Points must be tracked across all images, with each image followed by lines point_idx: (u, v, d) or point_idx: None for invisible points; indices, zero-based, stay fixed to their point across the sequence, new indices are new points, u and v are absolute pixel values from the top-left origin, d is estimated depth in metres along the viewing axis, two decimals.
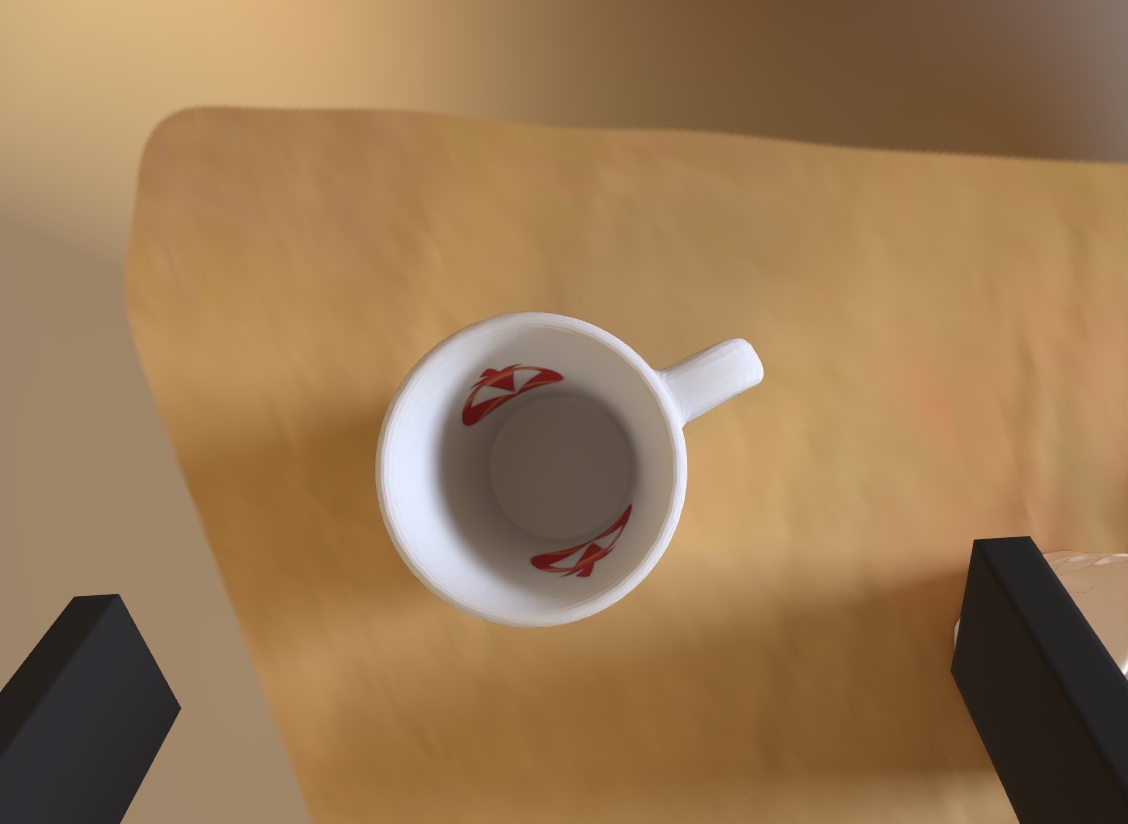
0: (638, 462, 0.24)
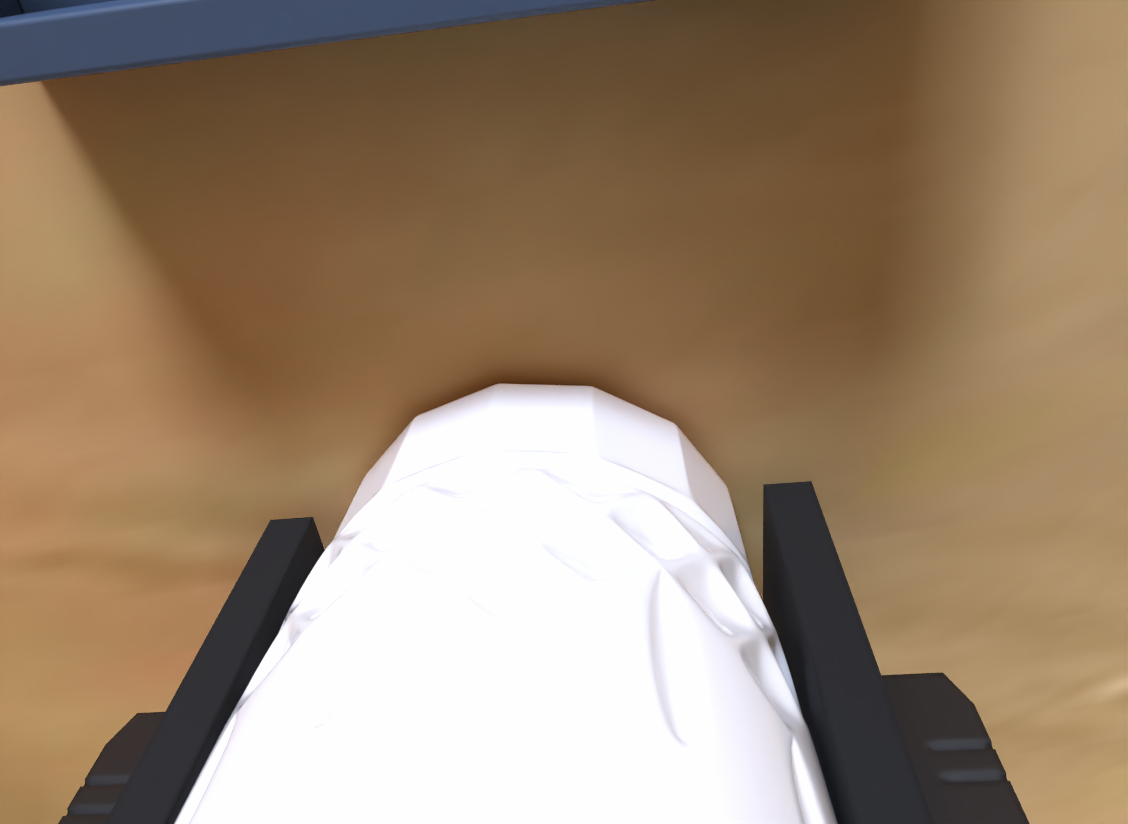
0: None
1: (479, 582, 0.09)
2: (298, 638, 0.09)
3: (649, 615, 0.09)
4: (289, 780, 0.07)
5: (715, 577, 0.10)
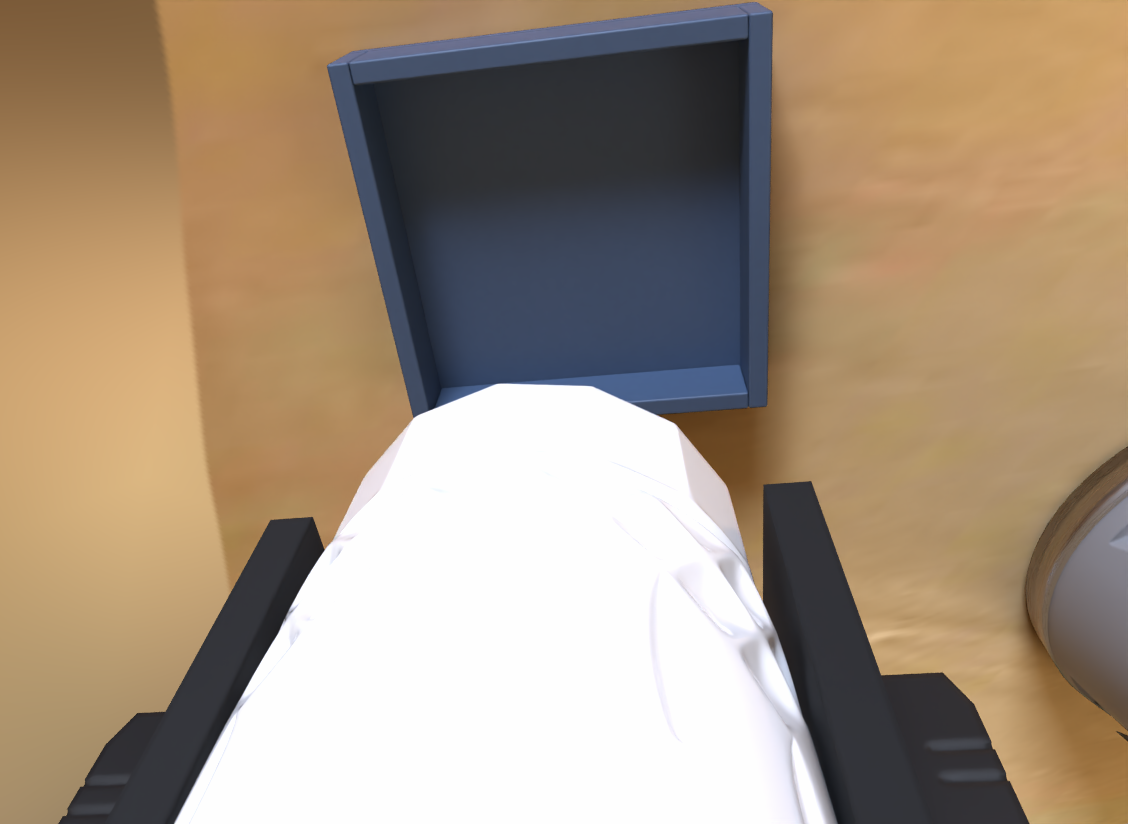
0: None
1: (479, 582, 0.09)
2: (298, 638, 0.09)
3: (648, 615, 0.09)
4: (289, 780, 0.07)
5: (715, 577, 0.10)
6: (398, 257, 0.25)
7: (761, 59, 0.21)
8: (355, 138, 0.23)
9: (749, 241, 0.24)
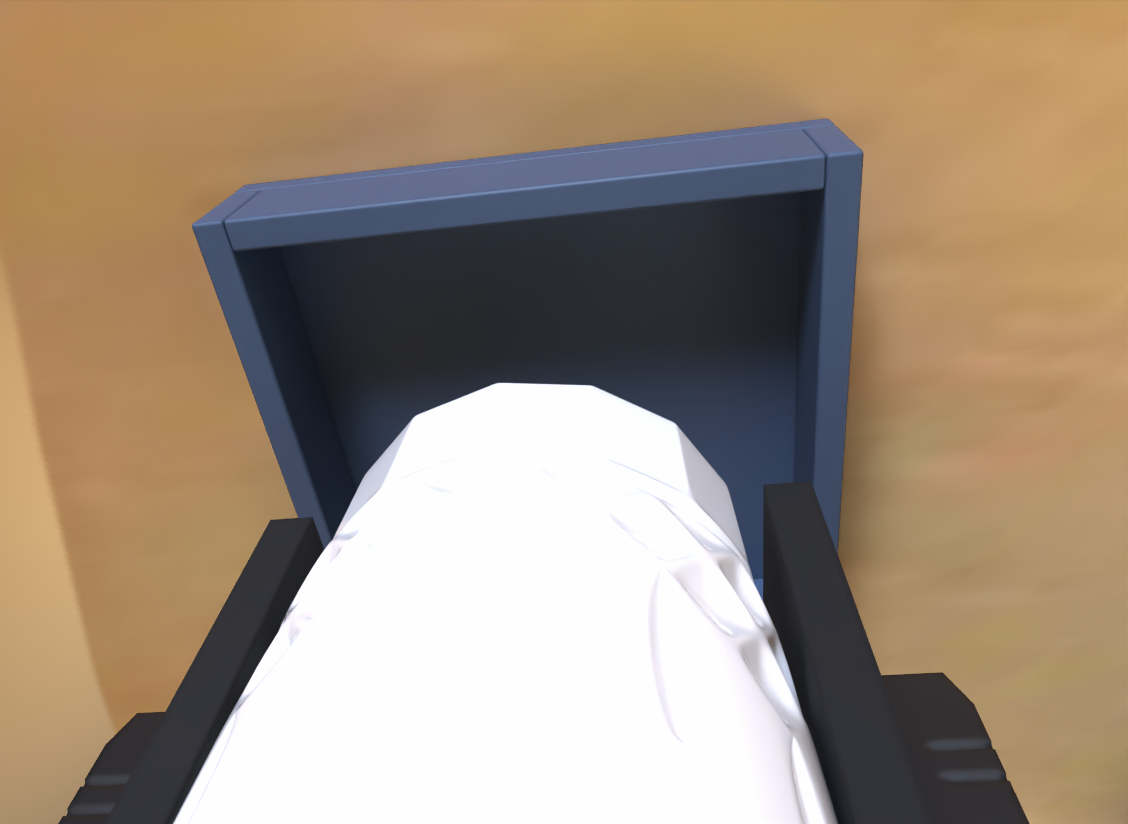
0: None
1: (478, 582, 0.09)
2: (298, 638, 0.09)
3: (648, 615, 0.09)
4: (287, 780, 0.07)
5: (715, 576, 0.10)
6: (317, 464, 0.18)
7: (843, 218, 0.14)
8: (241, 322, 0.15)
9: (815, 455, 0.16)
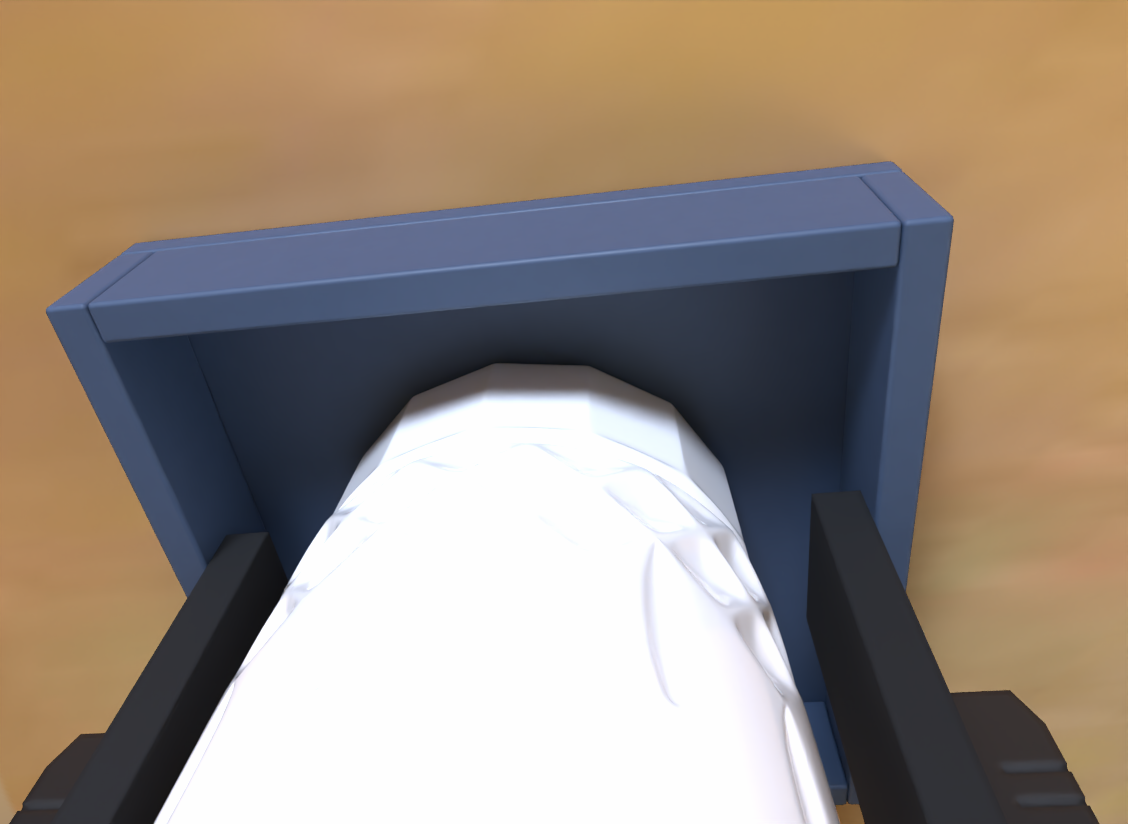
0: None
1: (475, 552, 0.09)
2: (296, 608, 0.09)
3: (642, 583, 0.09)
4: (285, 740, 0.07)
5: (710, 550, 0.10)
6: None
7: (922, 304, 0.10)
8: (123, 429, 0.12)
9: None
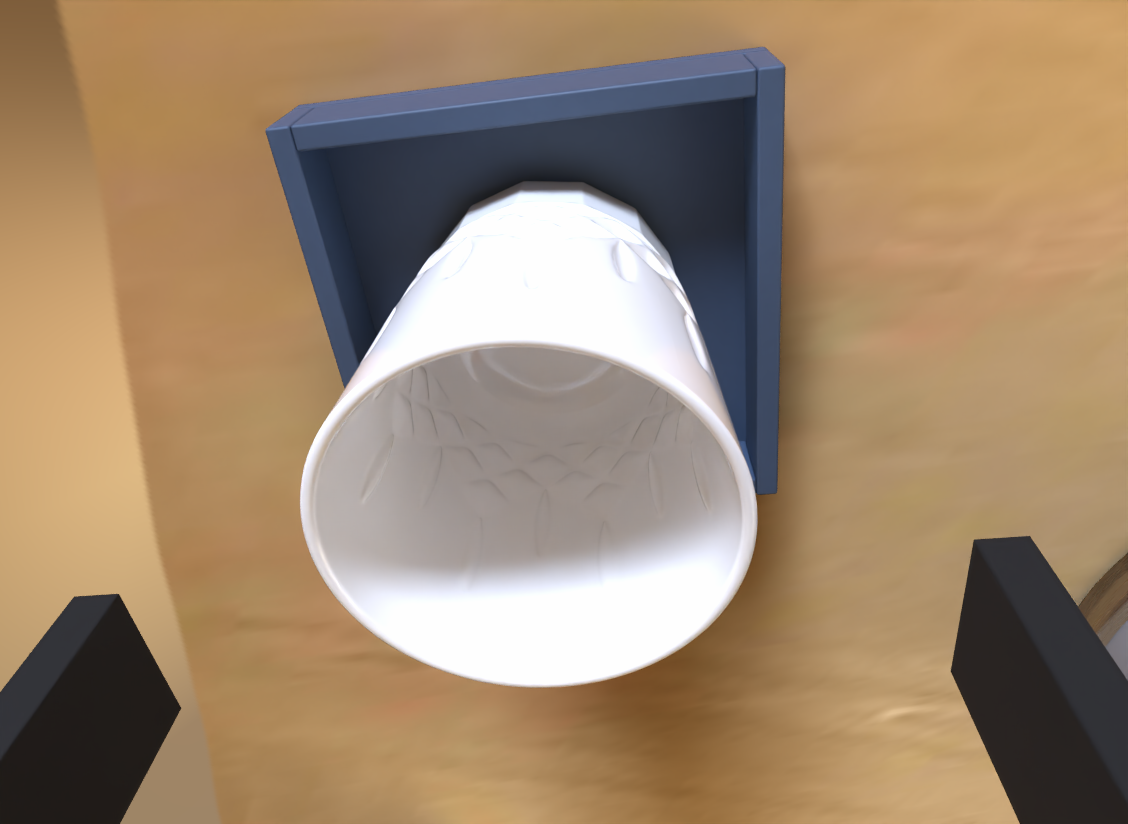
0: None
1: (523, 236, 0.17)
2: (426, 271, 0.17)
3: (611, 249, 0.16)
4: (440, 288, 0.15)
5: (651, 257, 0.18)
6: (358, 337, 0.22)
7: (771, 119, 0.18)
8: (302, 210, 0.19)
9: (757, 319, 0.21)
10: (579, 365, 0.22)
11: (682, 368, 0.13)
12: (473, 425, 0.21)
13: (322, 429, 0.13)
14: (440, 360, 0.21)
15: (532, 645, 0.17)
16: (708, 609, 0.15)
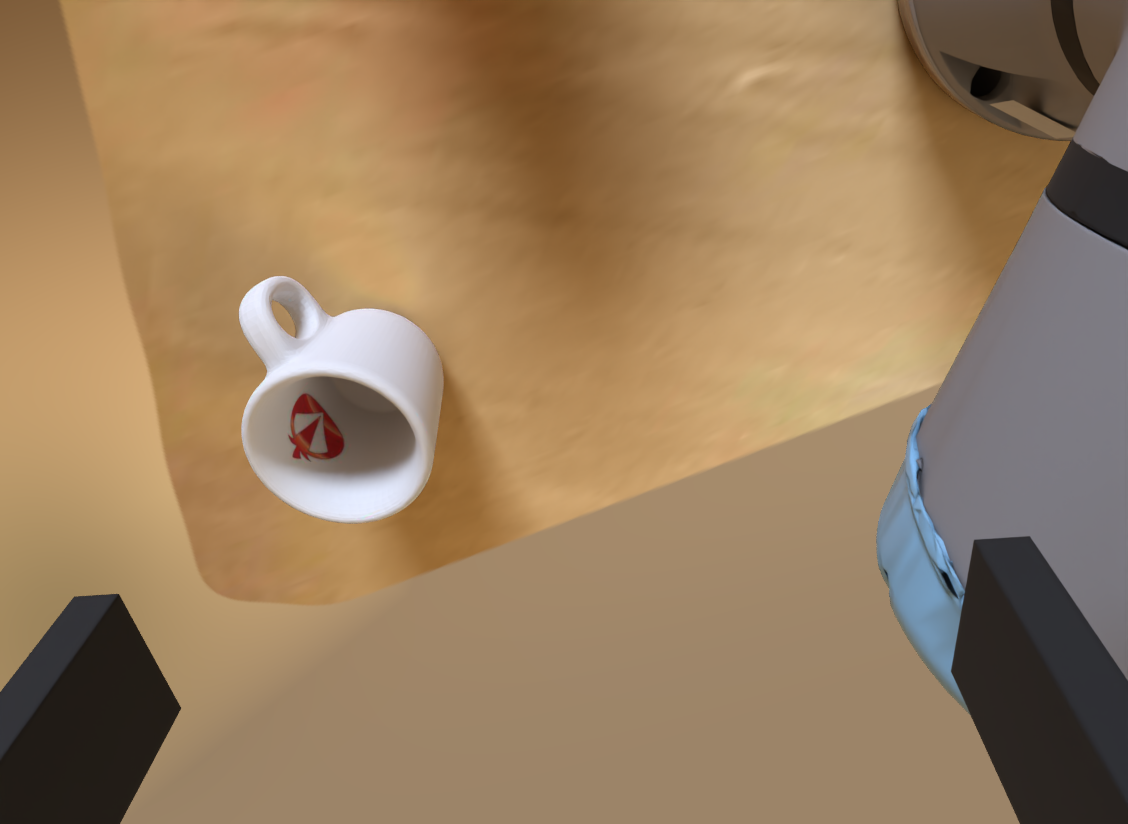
0: None
1: None
2: None
3: None
4: None
5: None
6: None
7: None
8: None
9: None
10: None
11: None
12: None
13: None
14: None
15: None
16: None
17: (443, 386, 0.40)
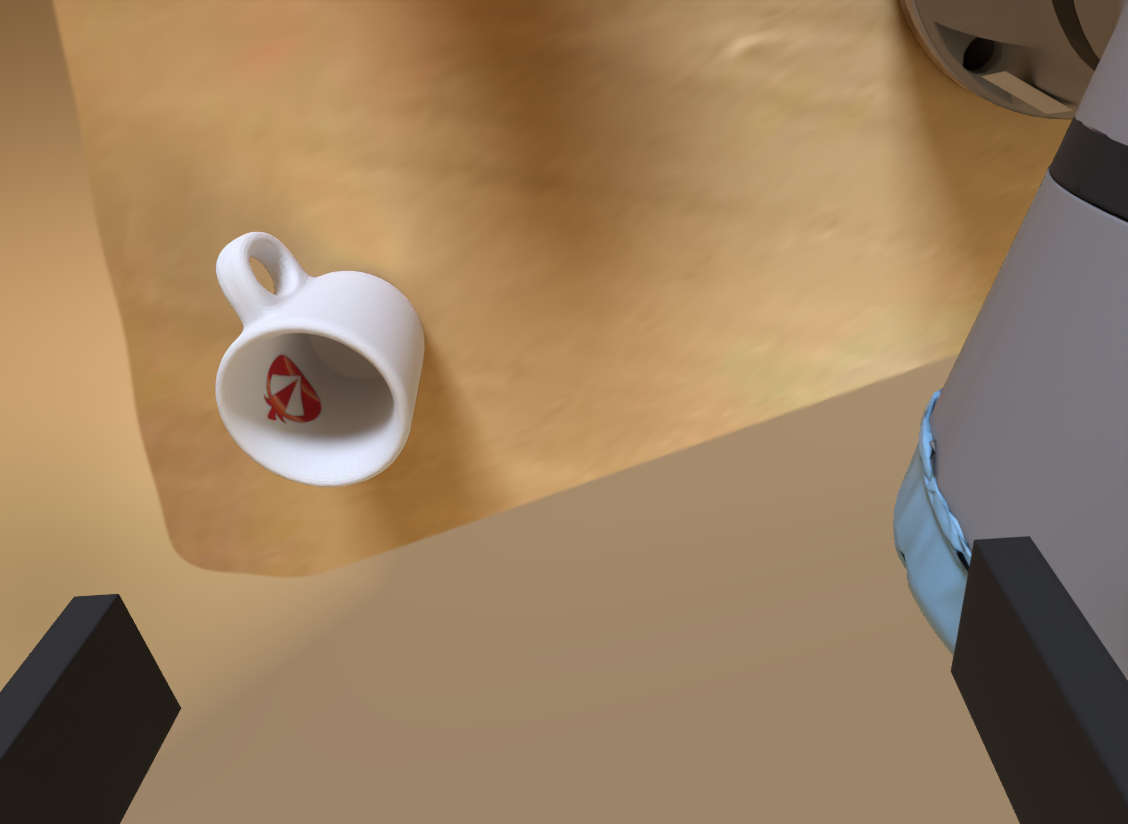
0: None
1: None
2: None
3: None
4: None
5: None
6: None
7: None
8: None
9: None
10: None
11: None
12: None
13: None
14: None
15: None
16: None
17: None
